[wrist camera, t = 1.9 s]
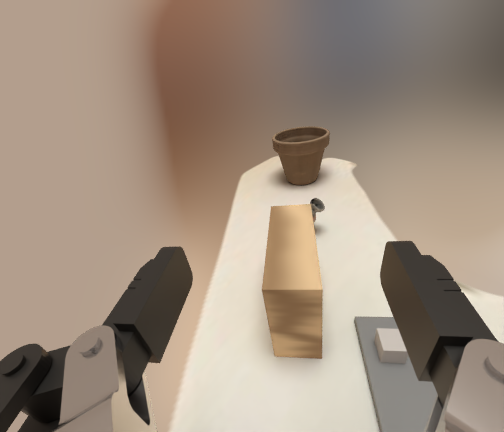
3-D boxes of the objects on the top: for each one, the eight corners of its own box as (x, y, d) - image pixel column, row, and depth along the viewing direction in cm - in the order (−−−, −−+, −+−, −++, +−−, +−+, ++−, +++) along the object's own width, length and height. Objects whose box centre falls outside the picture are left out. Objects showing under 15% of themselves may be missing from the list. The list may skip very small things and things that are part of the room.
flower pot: (289, 166, 62) (287, 124, 57) (335, 170, 57) (337, 125, 51) (267, 186, 55) (261, 141, 49) (317, 194, 49) (317, 144, 43)
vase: (328, 224, 41) (329, 193, 37) (317, 246, 37) (316, 215, 34) (297, 217, 43) (295, 188, 40) (284, 237, 40) (280, 208, 36)
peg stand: (439, 323, 25) (447, 305, 23) (585, 594, 13) (622, 594, 11) (354, 321, 26) (356, 304, 25) (411, 562, 14) (422, 558, 13)
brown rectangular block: (312, 267, 34) (310, 204, 28) (321, 358, 24) (322, 289, 18) (278, 267, 34) (271, 206, 29) (274, 356, 25) (262, 289, 19)
